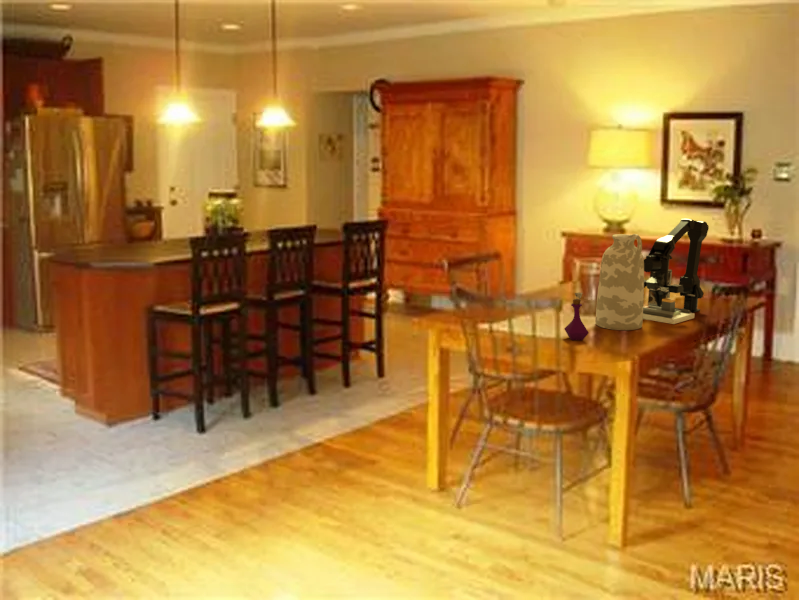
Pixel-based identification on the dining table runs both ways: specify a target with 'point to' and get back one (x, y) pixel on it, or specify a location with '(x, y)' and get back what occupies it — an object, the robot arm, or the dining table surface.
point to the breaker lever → (668, 304)
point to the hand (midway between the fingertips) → (658, 306)
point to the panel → (666, 314)
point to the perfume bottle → (576, 322)
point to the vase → (621, 285)
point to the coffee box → (651, 296)
